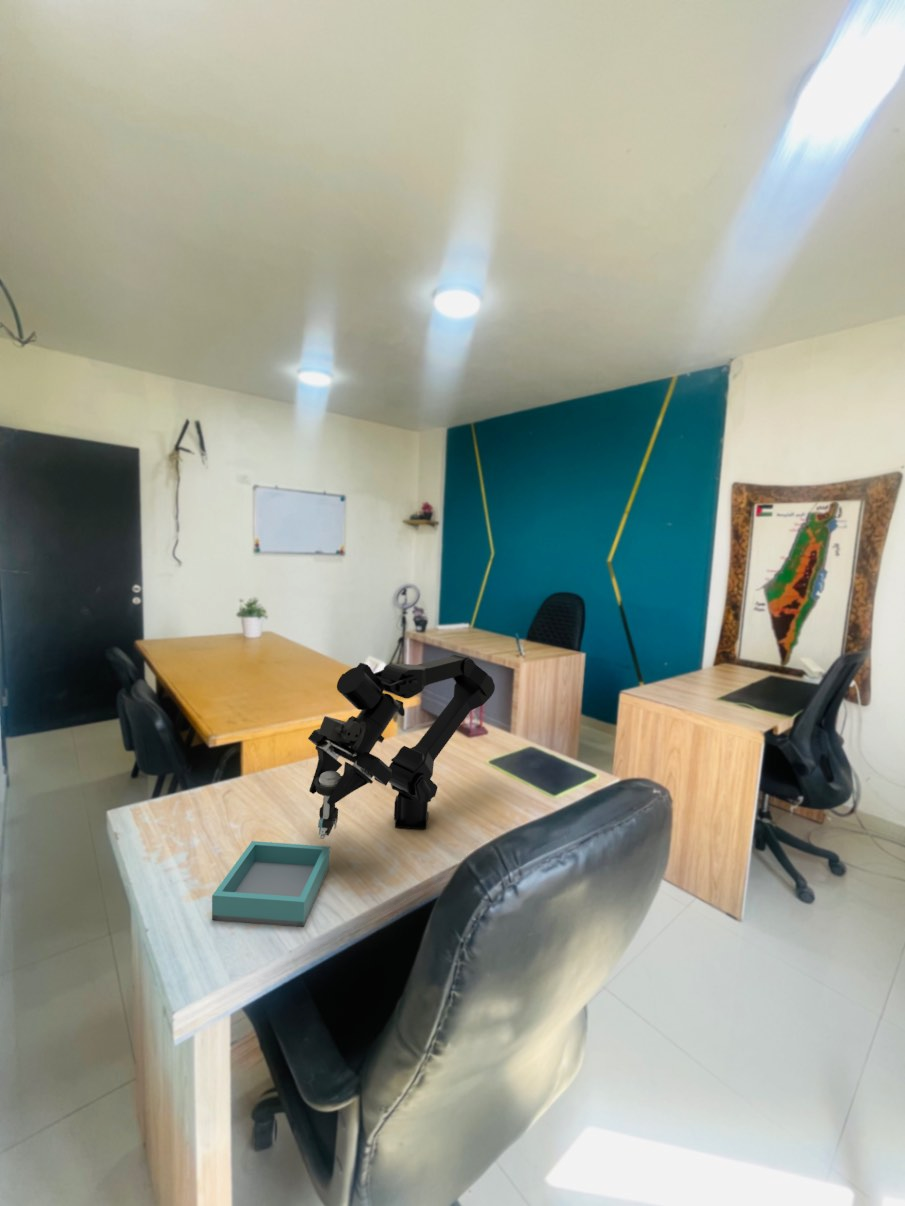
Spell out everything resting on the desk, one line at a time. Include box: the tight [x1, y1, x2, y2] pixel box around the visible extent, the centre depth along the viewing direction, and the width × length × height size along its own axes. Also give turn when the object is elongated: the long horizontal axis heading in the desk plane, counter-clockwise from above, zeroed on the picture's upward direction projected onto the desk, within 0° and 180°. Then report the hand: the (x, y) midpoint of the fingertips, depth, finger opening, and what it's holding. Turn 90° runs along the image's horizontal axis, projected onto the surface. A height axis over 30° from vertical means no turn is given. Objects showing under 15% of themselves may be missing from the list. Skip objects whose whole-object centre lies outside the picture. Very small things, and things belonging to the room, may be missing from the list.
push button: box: [314, 771, 342, 840], centre depth 88 cm, size 7×5×10 cm
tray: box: [211, 840, 331, 927], centre depth 82 cm, size 14×14×4 cm
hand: (319, 798), depth 87 cm, fingers closed on push button, 5 cm apart
